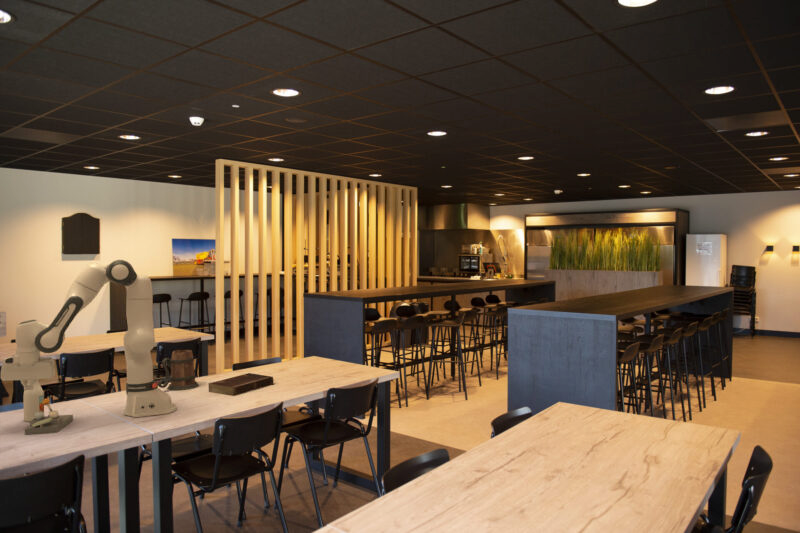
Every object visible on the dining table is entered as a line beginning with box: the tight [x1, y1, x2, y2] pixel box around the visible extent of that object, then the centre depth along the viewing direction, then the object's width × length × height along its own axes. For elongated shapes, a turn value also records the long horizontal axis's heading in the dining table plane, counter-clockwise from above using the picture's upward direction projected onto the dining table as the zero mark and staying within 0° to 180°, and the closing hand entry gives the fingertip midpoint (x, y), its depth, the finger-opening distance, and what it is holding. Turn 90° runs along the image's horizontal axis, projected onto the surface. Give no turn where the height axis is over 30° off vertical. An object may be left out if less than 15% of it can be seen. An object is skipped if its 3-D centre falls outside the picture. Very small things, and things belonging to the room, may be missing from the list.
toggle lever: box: [43, 398, 54, 412], centre depth 246 cm, size 3×3×7 cm
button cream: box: [48, 410, 59, 418], centre depth 240 cm, size 3×3×2 cm
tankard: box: [157, 349, 200, 392], centre depth 310 cm, size 24×17×20 cm
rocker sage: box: [32, 418, 52, 427], centre depth 235 cm, size 6×3×1 cm, turn 101°
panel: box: [24, 412, 74, 436], centre depth 242 cm, size 12×18×4 cm, turn 11°
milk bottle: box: [22, 379, 45, 422], centre depth 255 cm, size 8×8×20 cm
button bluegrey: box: [35, 411, 45, 420], centre depth 239 cm, size 3×3×2 cm
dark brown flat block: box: [208, 372, 275, 397], centre depth 308 cm, size 29×19×5 cm, turn 149°
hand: (28, 389), depth 244 cm, fingers closed
